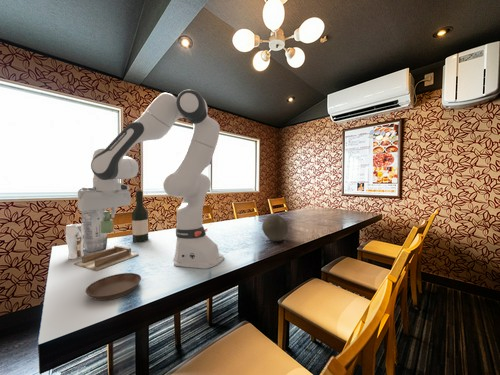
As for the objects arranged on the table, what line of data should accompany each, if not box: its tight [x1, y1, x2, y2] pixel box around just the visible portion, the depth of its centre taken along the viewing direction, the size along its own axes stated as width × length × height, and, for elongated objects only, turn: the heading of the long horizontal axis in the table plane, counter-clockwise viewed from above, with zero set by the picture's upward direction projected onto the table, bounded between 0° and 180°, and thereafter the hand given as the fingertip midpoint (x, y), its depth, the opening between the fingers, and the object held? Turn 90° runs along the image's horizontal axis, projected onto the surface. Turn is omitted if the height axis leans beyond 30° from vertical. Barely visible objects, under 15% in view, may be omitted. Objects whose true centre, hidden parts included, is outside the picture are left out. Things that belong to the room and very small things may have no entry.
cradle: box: [73, 245, 140, 272], centre depth 90 cm, size 16×18×4 cm
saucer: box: [85, 272, 142, 301], centre depth 65 cm, size 15×15×3 cm
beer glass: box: [65, 223, 86, 260], centre depth 93 cm, size 7×7×15 cm
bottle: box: [101, 210, 114, 234], centre depth 88 cm, size 4×4×9 cm
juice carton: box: [80, 208, 108, 253], centre depth 104 cm, size 9×10×27 cm
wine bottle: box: [131, 189, 149, 243], centre depth 119 cm, size 8×8×30 cm
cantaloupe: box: [261, 214, 289, 242], centre depth 115 cm, size 14×14×15 cm
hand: (107, 218), depth 88 cm, fingers closed on bottle, 2 cm apart
